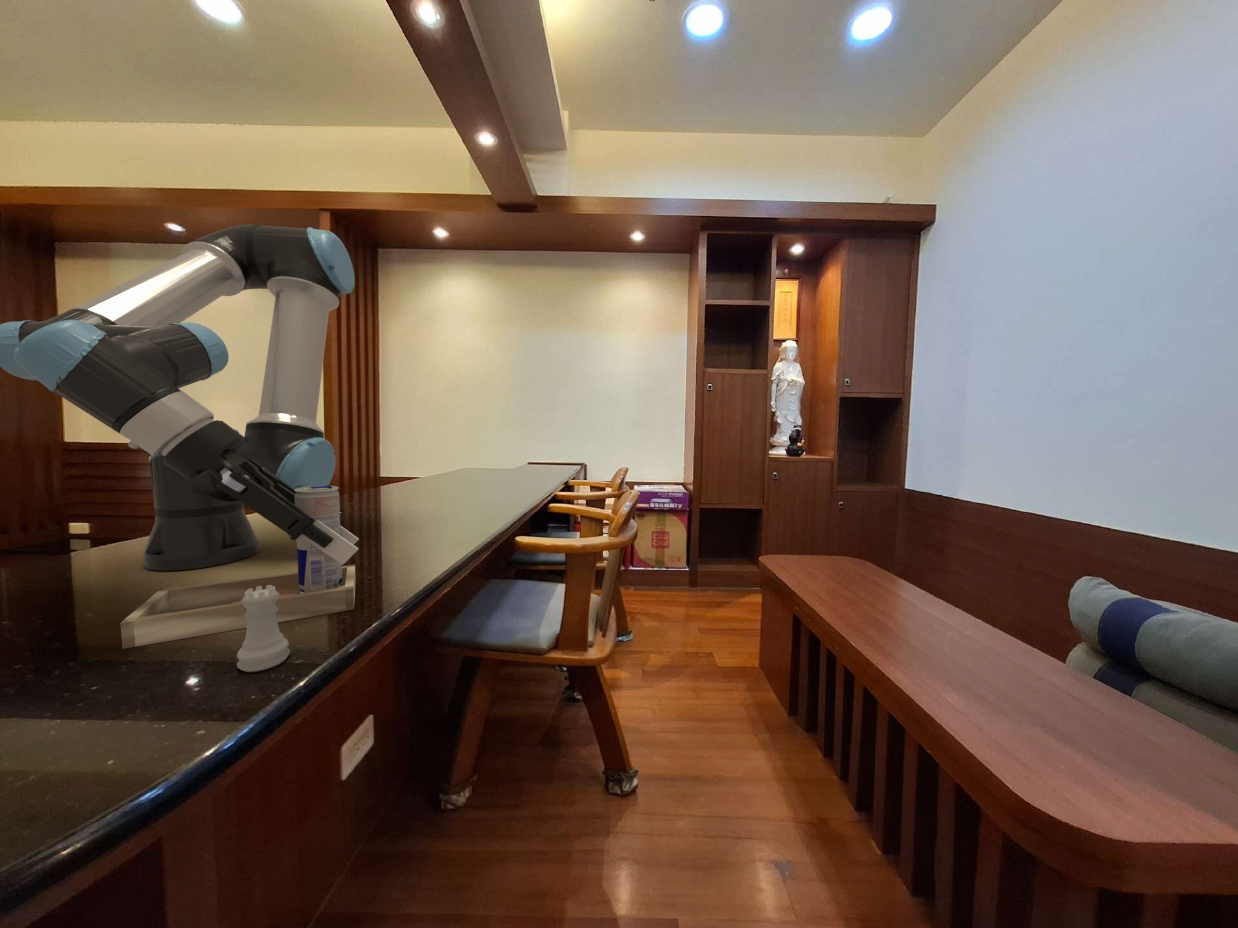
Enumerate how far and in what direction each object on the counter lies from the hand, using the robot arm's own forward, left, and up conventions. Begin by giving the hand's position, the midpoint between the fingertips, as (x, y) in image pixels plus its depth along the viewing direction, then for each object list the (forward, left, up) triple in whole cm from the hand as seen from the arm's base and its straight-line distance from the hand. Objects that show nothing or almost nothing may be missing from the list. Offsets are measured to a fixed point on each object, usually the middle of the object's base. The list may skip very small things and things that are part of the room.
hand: (350, 550), depth 63 cm
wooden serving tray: (0, -11, -7) cm, 13 cm away
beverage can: (0, -4, -5) cm, 7 cm away
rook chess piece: (+16, -8, -7) cm, 19 cm away
